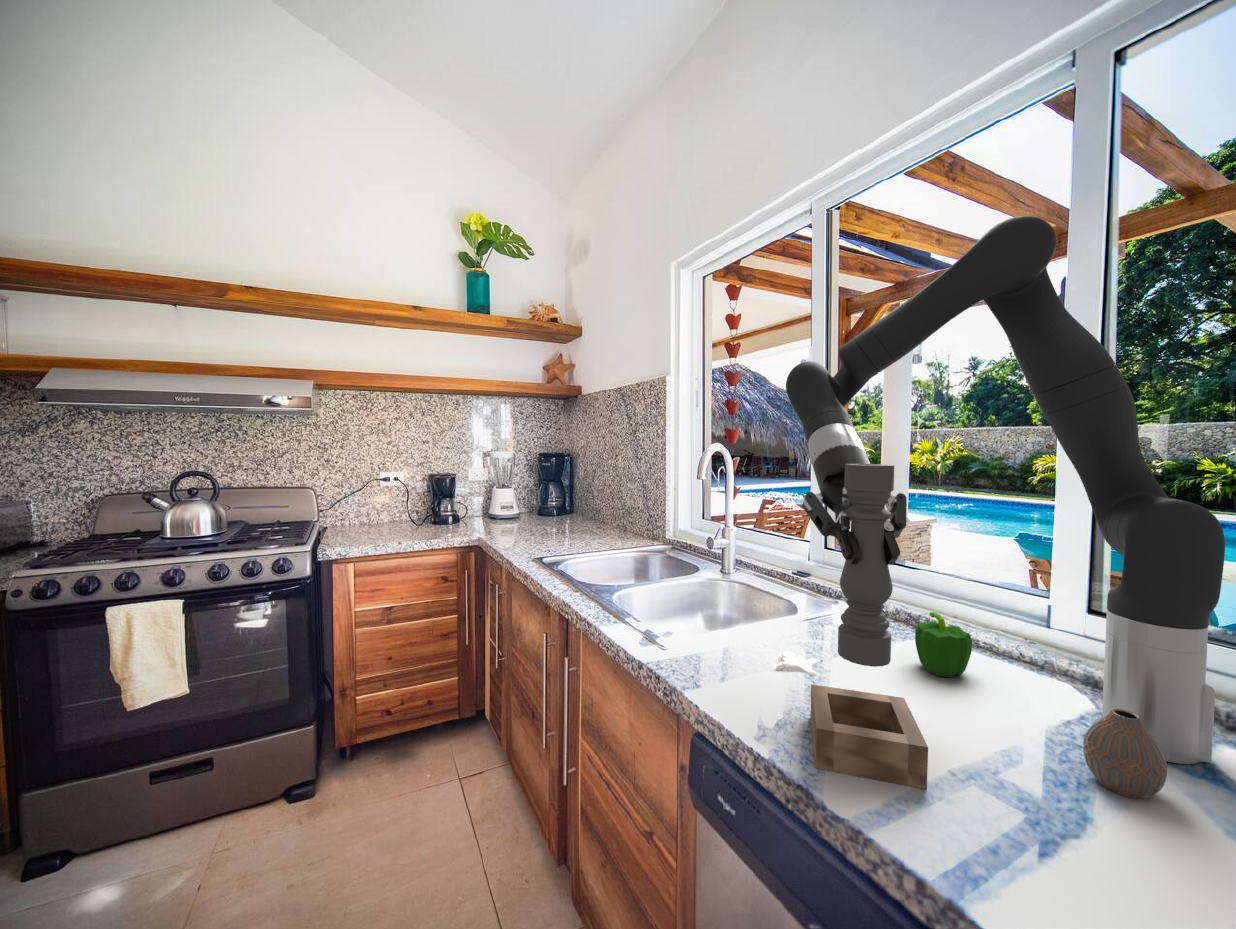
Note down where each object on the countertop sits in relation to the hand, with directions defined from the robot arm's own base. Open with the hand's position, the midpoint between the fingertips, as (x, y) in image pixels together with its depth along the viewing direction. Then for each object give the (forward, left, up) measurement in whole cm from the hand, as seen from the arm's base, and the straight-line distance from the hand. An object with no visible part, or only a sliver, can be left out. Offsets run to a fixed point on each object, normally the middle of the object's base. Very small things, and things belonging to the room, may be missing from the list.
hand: (873, 560), depth 63 cm
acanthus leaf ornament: (+8, -26, -26) cm, 37 cm away
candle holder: (+1, -2, -13) cm, 13 cm away
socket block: (+1, -2, -25) cm, 25 cm away
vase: (-27, -4, -26) cm, 38 cm away
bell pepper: (-16, -32, -26) cm, 44 cm away
